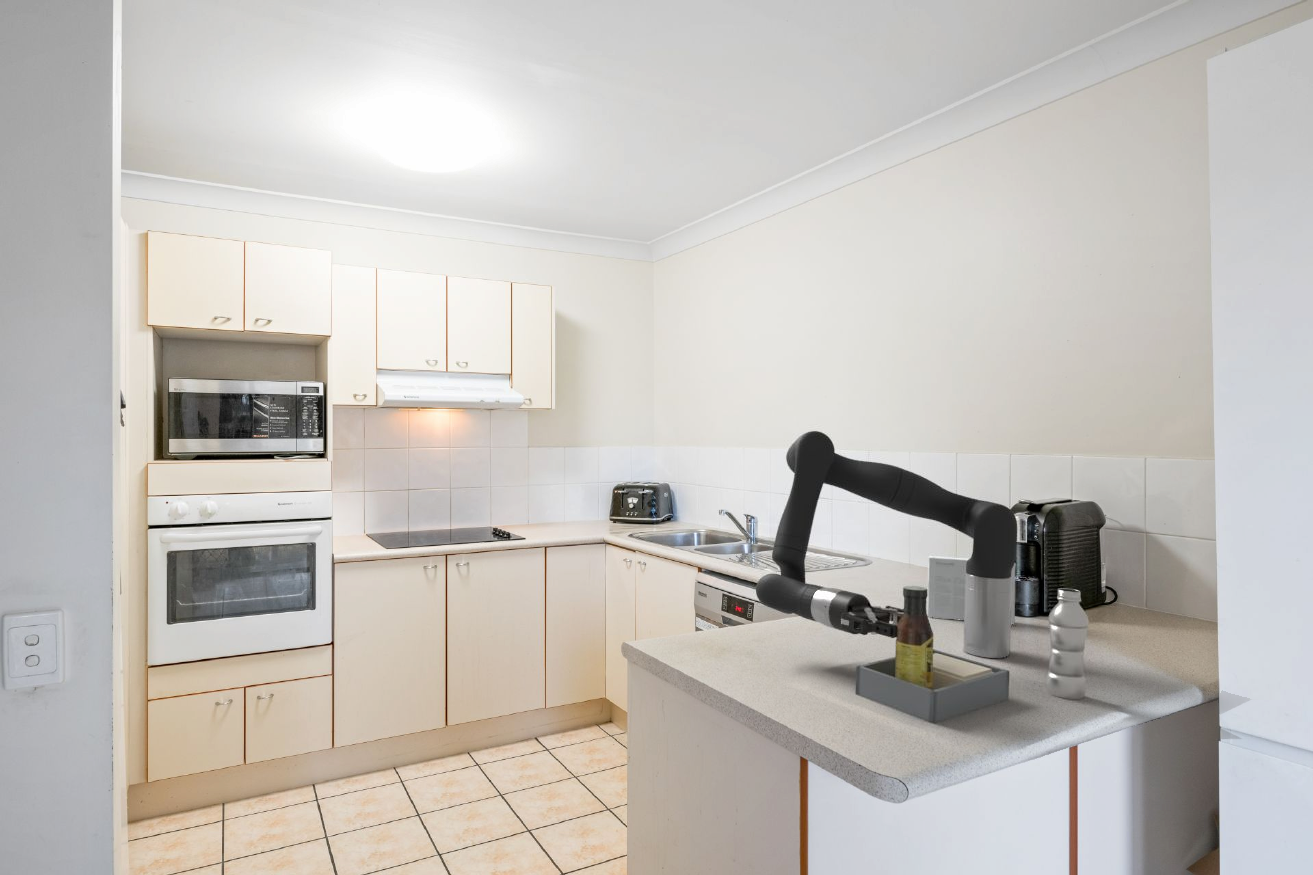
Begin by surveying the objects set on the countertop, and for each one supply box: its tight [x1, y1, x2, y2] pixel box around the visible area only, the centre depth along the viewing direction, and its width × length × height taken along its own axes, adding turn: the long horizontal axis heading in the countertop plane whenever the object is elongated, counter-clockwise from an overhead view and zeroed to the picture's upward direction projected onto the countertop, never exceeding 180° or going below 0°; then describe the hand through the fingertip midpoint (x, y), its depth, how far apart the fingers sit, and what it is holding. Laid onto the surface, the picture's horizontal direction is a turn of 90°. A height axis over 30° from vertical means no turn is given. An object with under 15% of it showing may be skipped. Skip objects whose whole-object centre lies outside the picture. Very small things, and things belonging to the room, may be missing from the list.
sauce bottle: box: [894, 585, 934, 690], centre depth 134 cm, size 7×6×20 cm
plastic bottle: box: [1045, 587, 1090, 700], centre depth 140 cm, size 6×7×20 cm
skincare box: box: [927, 555, 1017, 624], centre depth 200 cm, size 21×5×16 cm, turn 71°
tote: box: [855, 648, 1010, 725], centre depth 137 cm, size 22×16×6 cm
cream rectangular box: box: [932, 653, 994, 690], centre depth 140 cm, size 9×12×5 cm
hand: (911, 628), depth 135 cm, fingers open, 8 cm apart
